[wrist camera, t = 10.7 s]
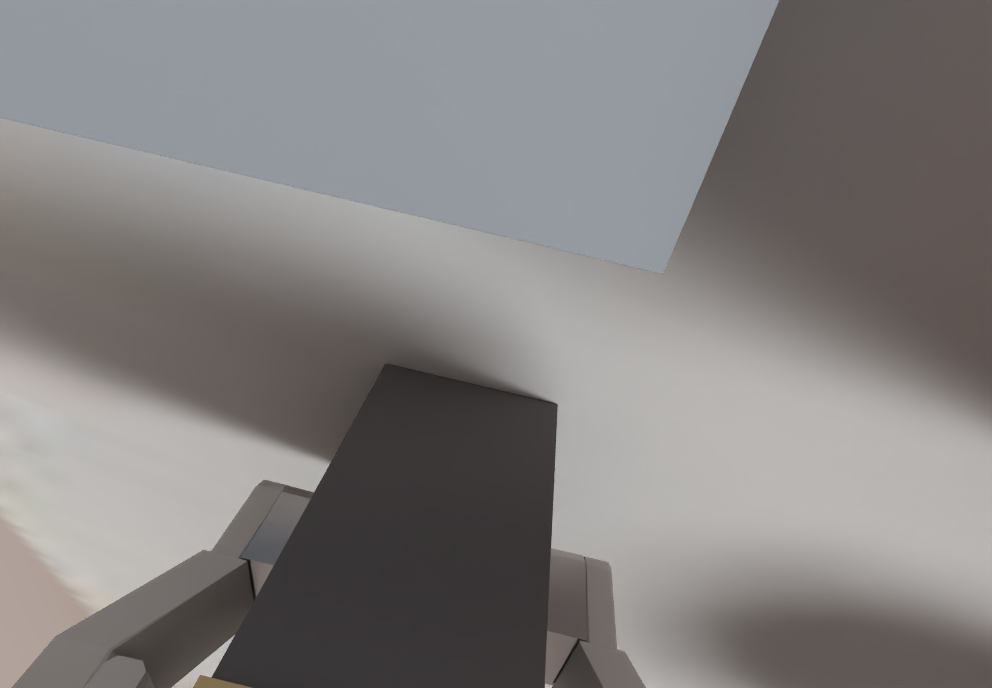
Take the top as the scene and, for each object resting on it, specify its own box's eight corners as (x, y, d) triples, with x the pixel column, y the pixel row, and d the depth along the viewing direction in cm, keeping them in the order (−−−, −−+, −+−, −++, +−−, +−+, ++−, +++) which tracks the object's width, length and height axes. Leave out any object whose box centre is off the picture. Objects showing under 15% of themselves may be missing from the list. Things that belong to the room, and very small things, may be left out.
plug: (522, 517, 13) (481, 892, 8) (372, 481, 14) (218, 828, 8) (563, 402, 11) (549, 818, 5) (381, 359, 11) (172, 725, 5)
